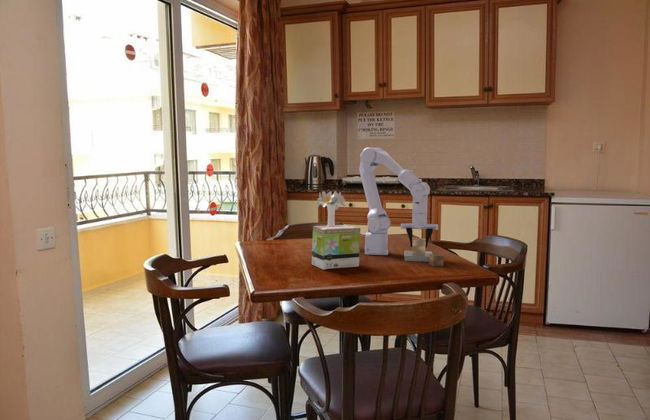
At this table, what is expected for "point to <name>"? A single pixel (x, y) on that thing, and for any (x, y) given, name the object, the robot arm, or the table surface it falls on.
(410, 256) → the plate
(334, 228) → the tea box
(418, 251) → the maple cube
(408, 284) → the table surface
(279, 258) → the table surface
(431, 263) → the walnut block
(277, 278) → the table surface
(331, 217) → the flower vase
